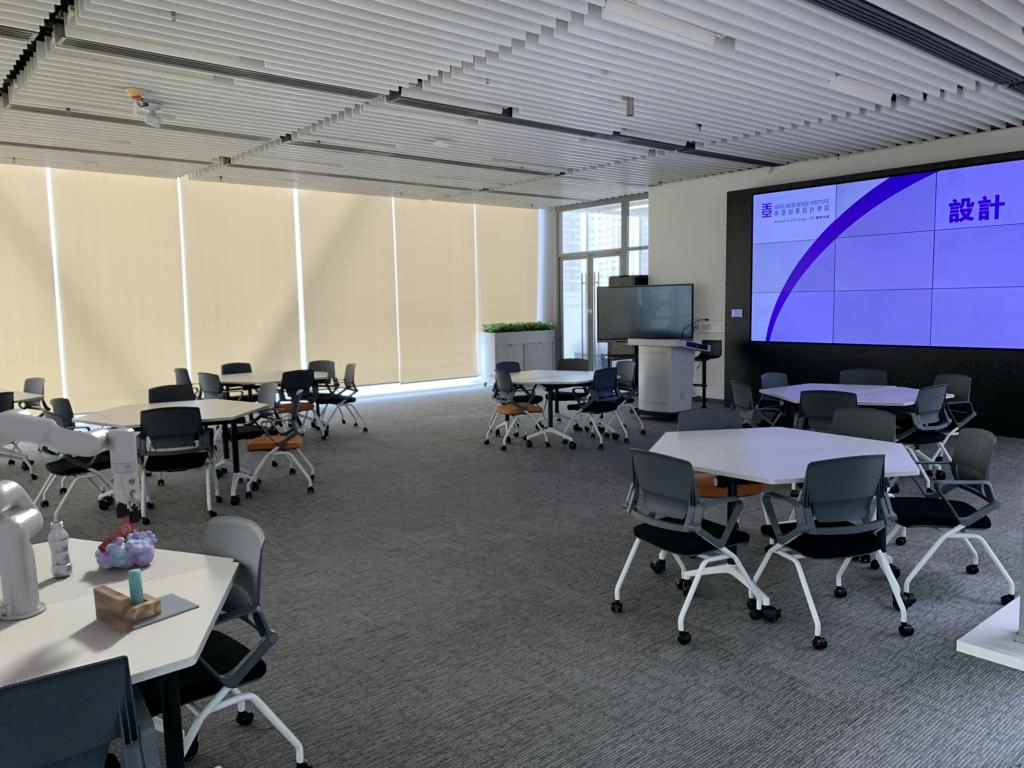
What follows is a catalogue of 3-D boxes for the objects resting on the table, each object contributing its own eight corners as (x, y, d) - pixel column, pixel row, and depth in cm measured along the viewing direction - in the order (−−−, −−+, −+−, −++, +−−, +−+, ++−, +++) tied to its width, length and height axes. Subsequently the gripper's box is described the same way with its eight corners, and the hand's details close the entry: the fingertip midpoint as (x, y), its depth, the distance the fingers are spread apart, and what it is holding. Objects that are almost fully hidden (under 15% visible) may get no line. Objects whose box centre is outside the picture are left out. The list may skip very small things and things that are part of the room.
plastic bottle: (66, 579, 270) (60, 524, 268) (47, 579, 270) (41, 525, 268) (77, 572, 276) (71, 519, 274) (58, 573, 277) (53, 519, 274)
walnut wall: (122, 632, 222) (119, 600, 220) (96, 617, 233) (93, 587, 232) (133, 628, 224) (130, 597, 223) (106, 614, 235) (103, 584, 234)
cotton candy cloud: (137, 563, 269) (147, 514, 277) (76, 563, 269) (87, 514, 276) (160, 575, 288) (169, 528, 295) (103, 575, 287) (113, 528, 295)
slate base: (122, 633, 222) (122, 632, 222) (96, 619, 233) (96, 617, 233) (199, 606, 240) (199, 605, 240) (171, 594, 251) (171, 593, 251)
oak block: (128, 623, 227) (127, 610, 226) (113, 616, 233) (112, 603, 233) (161, 612, 234) (160, 599, 234) (146, 605, 241) (145, 593, 240)
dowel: (135, 618, 231) (131, 573, 230) (130, 615, 234) (125, 571, 232) (147, 614, 234) (142, 570, 233) (141, 611, 236) (137, 568, 235)
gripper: (148, 468, 238) (152, 522, 240) (125, 461, 250) (129, 512, 251) (123, 473, 233) (127, 527, 234) (101, 465, 244) (105, 517, 246)
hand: (128, 519), depth 243 cm, fingers open, 9 cm apart
